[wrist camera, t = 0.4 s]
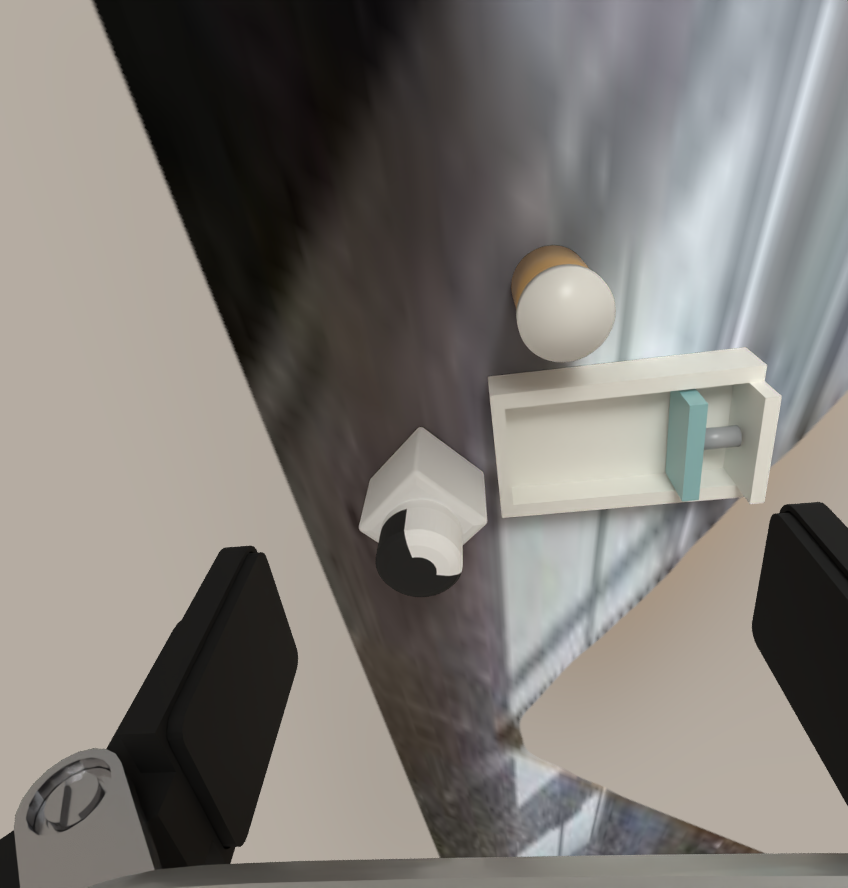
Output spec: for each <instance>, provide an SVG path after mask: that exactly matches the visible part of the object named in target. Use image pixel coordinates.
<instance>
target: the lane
mask: <svg viewBox="0 0 848 888" xmlns="http://www.w3.org/2000/svg"><path fill="white" fill-rule="evenodd" d="M766 369H767V365H766V364H765V363H764V362H763V361H761V360H760V359H759V358H758V357H757V356H755V355H754V354H753V353H752V352H751V351H749V350H748V349H747V348H746V347H743V348H734V349H725V350H716V351H708V352H699V353H690V354H681V355H673V356H664V357H655V358H647V359H638V360H629V361H620V362H612V363H603V364H594V365H585V366H577V367H568V368H559V369H550V370H542V371H533V372H524V373H515V374H507V375H498V376H489V377H488V386H489V396H490V406H491V416H492V425H493V435H494V445H495V455H496V465H497V475H498V485H499V495H500V504H501V513H502V518H508V517H520V516H531V515H543V514H554V513H566V512H577V511H589V510H600V509H612V508H623V507H635V506H646V505H658V504H669V503H681V502H682V501H681V499H680V497H679V495H678V493H677V492H676V490H675V488H674V486H673V485H672V483H671V481H670V479H669V478H668V476H667V474H666V472H665V470H666V454H667V439H668V423H669V407H670V391H678V390H687V389H696V390H697V391H698V392H699V393H700V395H701V396H702V397H703V398H704V399H705V400H706V402H707V403H708V412H707V423H706V428H711V427H721V426H731V425H738V426H739V428H740V430H741V434H742V443H741V445H740V446H739V447H729V448H719V449H709V450H704V453H703V463H702V473H701V484H700V494H699V500H695V501H704V500H715V499H727V498H738V497H745V498H746V499H747V501H748V502H749V503H750V504H756V503H764V501H765V495H766V489H767V483H768V476H769V471H770V465H771V459H772V453H773V447H774V441H775V434H776V428H777V422H778V416H779V410H780V404H781V398H782V396H781V395H780V394H778V393H777V392H776V391H775V390H774V389H773V388H772V387H771V386H770V385H768V384H767V383H766V382H765V375H766ZM683 502H692V501H683Z"/></svg>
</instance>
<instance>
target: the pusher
mask: <svg viewBox="0 0 848 888" xmlns="http://www.w3.org/2000/svg"><path fill="white" fill-rule="evenodd" d="M707 412H708V403H707V402H706V400H705V399H704V398H703V397H702V396H701V395H700V393H699V392H698V391H697V390H696V389H687V390H678V391H670V407H669V423H668V439H667V454H666V470H665V472H666V474H667V476H668V478H669V479H670V481H671V483H672V485H673V486H674V488H675V490H676V492H677V493H678V495H679V497H680V499H681V501H682V502H683V501H695V500H699V494H700V484H701V473H702V463H703V453H704V450H709V449H719V448H729V447H739V446H740V445H741V443H742V434H741V430H740V428H739V426H738V425H731V426H721V427H711V428H706V423H707Z"/></svg>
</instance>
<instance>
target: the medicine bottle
mask: <svg viewBox="0 0 848 888" xmlns="http://www.w3.org/2000/svg"><path fill="white" fill-rule="evenodd" d="M486 524H487V511H486V497H485V482H484V473H483V472H482V471H481V470H480V469H478V468H477V467H476V466H474V465H473V464H472V463H470V462H469V461H468V460H466V459H465V458H464V457H462V456H461V455H459V454H458V453H457V452H455V451H454V450H453V449H451V448H450V447H449V446H447V445H446V444H445V443H443V442H442V441H441V440H439V439H438V438H436V437H435V436H434V435H432V434H431V433H430V432H428V431H427V430H426V429H424V428H423V427H419V428H417V430H416V431H415V432H414V433H413V434H412V435H411V436H410V437H409V438H408V439H407V440H406V441H405V442H404V443H403V445H402V446H401V447H400V448H399V449H398V450H397V451H396V452H395V453H394V454H393V455H392V456H391V457H390V458H389V460H388V461H387V462H386V463H385V464H384V465H383V466H382V467H381V468H380V469H379V470H378V471H377V472H376V474H375V475H374V476H373V477H372V478H371V479H370V482H369V486H368V490H367V494H366V498H365V503H364V507H363V511H362V515H361V520H360V524H359V530H360V531H361V532H363V533H364V534H366V535H367V536H369V537H370V538H372V539H373V540H375V541H376V542H378V549H377V554H376V568H377V571H378V573H379V575H380V577H381V578H382V579H383V581H384V582H385V583H386V584H387V585H389V586H390V587H391V588H393V589H394V590H396V591H398V592H400V593H402V594H405V595H408V596H414V597H428V596H433V595H436V594H439V593H441V592H443V591H445V590H447V589H449V588H450V587H451V586H453V585H454V584H455V583H456V581H457V580H458V579H459V577H460V575H461V572H462V568H463V545H464V544H465V543H466V542H467V541H468V540H469V539H470V538H472V537H473V536H474V535H475V534H476V533H477V532H478V531H479V530H480V529H482V528H483V527H484V526H485V525H486Z"/></svg>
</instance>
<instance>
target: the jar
mask: <svg viewBox="0 0 848 888" xmlns="http://www.w3.org/2000/svg"><path fill="white" fill-rule="evenodd" d="M511 291H512V296H513V300H514V303H515V307H516V320H517V325H518V329H519V333H520V336H521V338H522V340H523V342H524V343H525V345H526V346H527V347H528V348H529V349H530V350H531V351H532V352H533V353H534V354H536V355H537V356H539V357H541V358H543V359H546V360H549V361H553V362H570V361H575V360H578V359H581V358H583V357H586V356H587V355H589V354H591V353H592V352H594V351H595V350H596V349H597V348H598V347H600V346H601V345H602V343H603V342H604V341H605V340H606V338H607V337H608V335H609V333H610V331H611V329H612V327H613V324H614V320H615V312H616V309H615V301H614V297H613V295H612V292H611V290H610V288H609V287H608V286H607V284H606V283H605V282H604V281H603V279H602V278H601V277H600V276H599V275H598V274H596V273H595V272H594V271H592V270H590V269H589V268H588V267H587V265H586V264H585V263H584V262H583V260H582V259H581V258H580V257H579V256H578V255H577V254H576V253H575V252H573V251H572V250H570V249H568V248H566V247H563V246H557V245H550V246H544V247H540V248H537V249H535V250H533V251H532V252H530V253H529V254H527V255H526V256H525V257H524V258H523V259H522V260H521V261H520V263H519V264H518V265H517V267H516V269H515V271H514V274H513V277H512V283H511Z"/></svg>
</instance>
